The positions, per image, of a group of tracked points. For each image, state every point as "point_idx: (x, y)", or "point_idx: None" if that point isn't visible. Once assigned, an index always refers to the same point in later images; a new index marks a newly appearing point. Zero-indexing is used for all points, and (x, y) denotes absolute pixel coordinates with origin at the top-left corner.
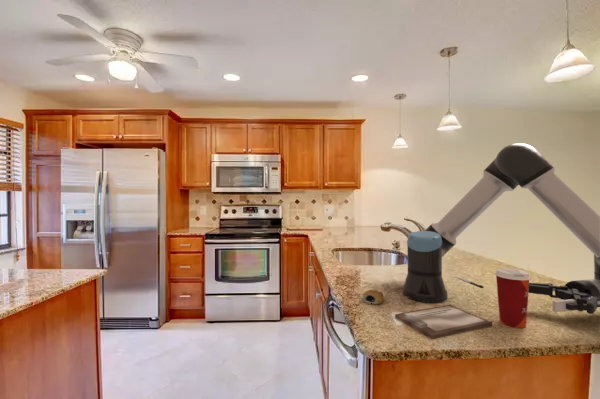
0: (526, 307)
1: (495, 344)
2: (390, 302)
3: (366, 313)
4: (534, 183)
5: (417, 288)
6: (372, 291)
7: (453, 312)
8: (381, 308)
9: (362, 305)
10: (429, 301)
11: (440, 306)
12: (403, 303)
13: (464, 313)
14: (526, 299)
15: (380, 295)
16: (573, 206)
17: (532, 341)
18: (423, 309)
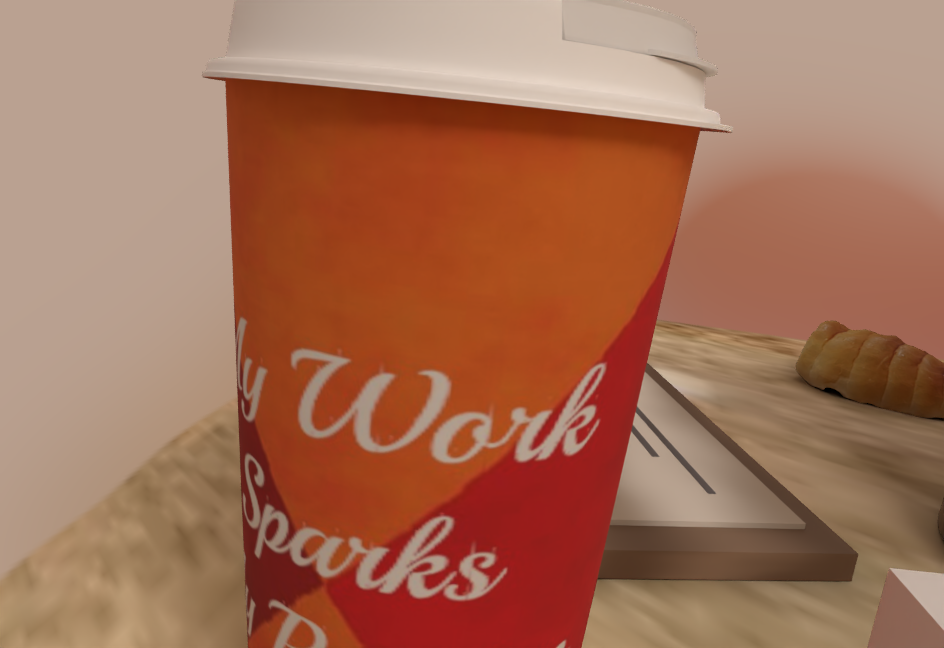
0: (244, 545)
1: (224, 440)
2: (863, 417)
3: (677, 341)
4: None
5: None
6: (876, 335)
7: (644, 475)
8: (748, 375)
9: (778, 357)
10: (940, 521)
11: (788, 493)
12: (865, 443)
13: (620, 506)
14: (238, 415)
15: (856, 356)
16: None
17: (73, 592)
18: (706, 419)
